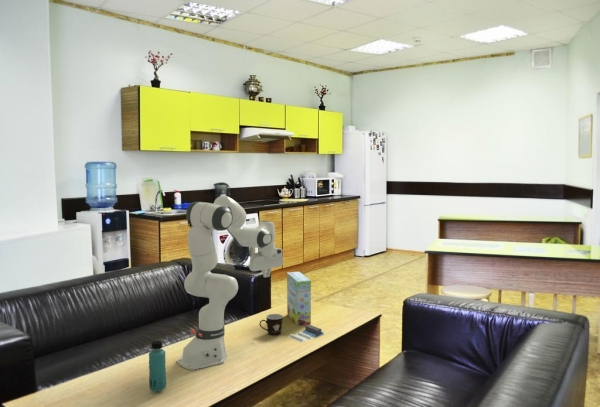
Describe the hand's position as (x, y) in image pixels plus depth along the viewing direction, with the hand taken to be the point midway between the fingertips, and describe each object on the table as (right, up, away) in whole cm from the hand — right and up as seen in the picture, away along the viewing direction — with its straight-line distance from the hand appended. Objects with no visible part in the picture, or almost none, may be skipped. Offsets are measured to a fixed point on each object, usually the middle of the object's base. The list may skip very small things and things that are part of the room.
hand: (266, 276), depth 248 cm
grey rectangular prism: (+25, -29, -3) cm, 38 cm away
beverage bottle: (-38, -35, -64) cm, 82 cm away
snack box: (+17, -28, +20) cm, 38 cm away
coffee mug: (+3, -30, -4) cm, 30 cm away
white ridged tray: (+21, -30, -6) cm, 37 cm away
